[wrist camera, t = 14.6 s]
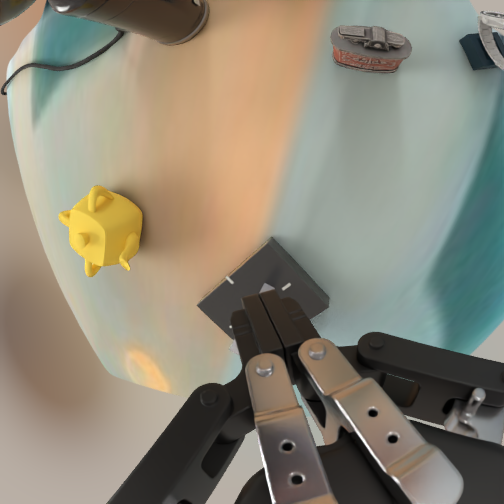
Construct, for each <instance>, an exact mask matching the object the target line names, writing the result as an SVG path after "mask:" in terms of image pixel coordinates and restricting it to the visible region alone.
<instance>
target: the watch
mask: <svg viewBox="0 0 504 504" xmlns="http://www.w3.org/2000/svg"><path fill="white" fill-rule="evenodd" d="M480 14H481V15H480V16H478V30H479V33H477V34H468V35H466V36H465V37H464V38H462V39H461V40H459V41H460V43H461V45H462V47H463V49H464V51H465V53H466V55H467V57H468V60H469V62H470V64H471V66H472V68H473V70H480V69H486V68H494V67H499V68H501V69H502V70H504V45H503V43H502V41H501V39H500V37H499V35H498V33H497V32H493V33H492V28H491V27H495V28H498V29H504V13H502V12H495V11H482V12H480Z"/></svg>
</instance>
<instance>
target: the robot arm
mask: <svg viewBox="0 0 504 504" xmlns="http://www.w3.org/2000/svg"><path fill="white" fill-rule="evenodd" d="M35 1H36V0H0V26H1V25H3V24H5V23H7V22H9V21H11V20H12V19H14V18H16V17H17V16H19V15H20V14H21V13H22V12H24V11H25V10H27V9H28V8H29V6H31V5H32V4H33V3H34V2H35ZM48 1H49V3H50V5H51V7H52V9H53V10H54V11H55V12H57V13H59V14H61V15H66V16H71V17H76V18H80V19H85V20H89V21H93V22H98V23H102V24H105V25H109V26H113V27H115V28H116V30H117V31H118V32H119V33H118V34H117V36H116V37H115V38H114V39H113V40H112V41H111V42H110V43H109V44H107V45H106V46H105V47H103V48H102V49H100V50H99V51H97V52H96V53H94V54H92V55H91V56H89V57H87V58H86V59H84V60H82V61H80V62H78V63H76V64H73V65H69V66H62V67H55V66H50V65H44V64H36V63H31V64H27V65H24V66H22V67H21V68H19V69H18V70H17V71H16V72H15V73H14V74H13V75H12V76H11V77H10V78H9V79H8V80H7V81H6V82H5V84H4V85H3V87H2V89H1V94H2V95H7V92H4V88H5V86H6V85H7V84H8V83H9V82H10V81H11V80H12V78H13V77H14V76H15V75H16V74H17V73H19V72H20V71H21V70H23V69H25V68H28V67H37V68H44V69H49V70H53V71H62V70H69V69H73V68H76V67H79V66H81V65H83V64H85V63H87V62H89V61H90V60H92V59H94V58H96V57H97V56H99V55H100V54H102V53H104V52H105V51H106V50H107V49H109V48H110V47H111V46H112V45H113V44H114V43H116V42H117V41H118V40H119V39H120V38H121V36H122V35H123V33H124V32H133V33H136V34H139V35H142V36H145V37H147V38H150V39H153V40H155V41H157V42H159V43H162V44H165V45H178V44H181V43H184V42H186V41H188V40H190V39H191V38H193V37H194V36H195V35H196V34H197V33H199V31H200V30H201V29H202V28H203V26H204V25H205V23H206V21H207V19H208V15H209V5H208V2H207V1H206V0H48ZM241 300H242V305H243V309H241V310H237V311H233V312H232V315H231V319H230V322H231V326H232V330H233V334H234V338H235V341H236V345H237V349H238V352H239V355H240V359H241V362H242V370H241V372H240V374H239V375H238V376H237V377H236V378H235V379H234V380H232V381H231V382H229V383H227V384H225V385H221V384H217V383H208V384H204V385H202V386H200V387H198V388H197V389H196V390H194V392H193V393H192V394H191V395H190V397H189V398H188V400H187V401H186V402H185V404H184V405H183V406H182V408H181V409H180V410H179V412H178V413H177V415H176V416H175V417H174V418H173V420H172V421H171V422H170V424H169V425H168V426H167V428H166V429H165V430H164V432H163V433H162V434H161V435H160V437H159V438H158V439H157V441H156V442H155V443H154V445H153V446H152V447H151V448H150V450H149V451H148V453H147V454H146V455H145V456H144V457H143V459H142V460H141V461H140V463H139V464H138V465H137V466H136V468H135V469H134V470H133V471H132V473H131V474H130V475H129V476H128V478H127V479H126V480H125V481H124V483H123V484H122V485H121V486H120V488H119V489H118V490H117V491H116V493H115V494H114V495H113V496H112V497H111V499H110V500H109V501H108V502H107V503H106V504H205V503H206V501H207V500H208V498H209V497H210V495H211V494H212V492H213V490H214V489H215V487H216V486H217V484H218V482H219V481H220V479H221V478H222V476H223V474H224V473H225V471H226V469H227V468H228V466H229V464H230V463H231V461H232V459H233V458H234V456H235V454H236V453H237V451H238V449H239V447H240V446H241V444H242V442H243V440H244V438H245V435H246V434H247V433H249V432H251V431H252V430H254V429H256V432H257V436H258V441H259V445H260V450H261V455H262V460H263V464H264V468H262V469H261V470H259V471H258V472H257V473H256V474H254V475H253V476H252V477H251V478H250V479H249V480H248V482H247V483H246V484H245V485H244V487H243V488H242V490H241V492H240V494H239V496H238V498H237V500H236V501H235V503H234V504H504V446H502V445H501V443H502V438H503V433H504V363H501V362H496V361H492V360H487V359H483V358H478V357H474V356H470V355H466V354H462V353H457V352H453V351H449V350H445V349H441V348H437V347H433V346H429V345H425V344H422V343H418V342H414V341H410V340H407V339H403V338H399V337H395V336H392V335H388V334H385V333H381V332H370V333H367V334H365V335H363V336H362V337H361V338H360V339H359V341H358V345H354V346H345V347H338V346H335V344H334V343H333V342H331V341H330V340H327V339H324V338H321V337H320V336H319V334H318V332H317V331H316V329H315V328H314V326H313V325H312V323H311V322H310V320H309V319H308V317H307V316H306V314H305V312H304V311H303V310H302V308H301V306H300V305H299V303H298V302H297V301H295V300H294V299H292V298H290V297H286V298H282V299H280V297H279V295H278V293H277V292H276V290H275V289H272V290H269V291H265V292H261V293H258V294H253V295H249V296H246V297H242V298H241ZM389 374H391V375H389ZM393 375H394V376H393ZM396 376H397V377H396ZM399 377H401V378H399ZM403 378H404V379H403ZM406 379H408V380H406ZM410 380H411V381H410ZM413 381H414V382H413ZM295 384H296V385H297V388H298V390H299V392H300V394H301V399H302V401H303V402H304V404H305V406H306V408H307V409H308V411H309V413H310V414H311V416H312V418H313V419H314V421H315V423H316V425H317V426H318V428H319V430H320V431H321V433H322V436H323V439H324V443H325V445H324V446H316V444H315V441H314V438H313V435H312V433H311V430H310V427H309V425H308V421H307V418H306V415H305V413H304V410H303V408H302V406H300V405H299V403H298V401H297V398H296V395H295V392H294V389H293V386H292V385H295ZM404 415H407V416H410V417H414V418H417V419H420V420H424V421H428V422H431V423H435V424H439V425H443V426H444V427H445V430H443V429H440V428H436V427H432V426H430V425H426V424H423V423H420V422H417V421H413V420H408V419H407V418H406V417H405V416H404Z"/></svg>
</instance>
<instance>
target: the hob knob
mask: <svg viewBox="0 0 504 504" xmlns="http://www.w3.org/2000/svg"><path fill="white" fill-rule="evenodd" d="M272 289H275V288H274V287H272V286H270V285H268V284H266V283H264V285H263V287H262V289H261V290H260V292H259V293H261V292H265V291H269V290H272ZM229 350H230V351H232V352H234V353H236V354H238V355H239V352H238V349H237V345H236V341H235V339H234V341H233V343H232V344H231V346H230V348H229Z"/></svg>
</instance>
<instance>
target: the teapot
mask: <svg viewBox="0 0 504 504" xmlns="http://www.w3.org/2000/svg"><path fill="white" fill-rule="evenodd" d="M142 219H143V217H142V212H141V210H140V209H139V208H138V207H137V206H136V205H135V204H134V203H132V202H131V201H130V200H128V199H127V198H125V197H123V196H121V195H119V194H116V193H113V192H110V191H108V190H107V189H105V188H104V187H102V186H98V185H97V186H94V187H93V188H92V189H91V190H90V193H89V194H88V195H87V196H85V197H84V198H83V199H81V200H80V201H79V202H78V203H77V204H76V205H75V206H74V207H73V209H72V210H67V211H63V212H60V214H59V220H60V221H61V222H62V223H63V224H64V225H66V226H68V227H69V240H70V245H71V246H72V248H73V249H74V250H75V251H76V252H77V253H78V254H79V255H81V256H82V257H83V258H85V272H86V275H87V276H88V277H93V276H94V275H95V274H96V273H97V272H98V271H99V269H100V268H101V266H109V265H115V264H119V263H120V264H121V265H122V266H123V267H124V268H125V269H126V270H130V266H129V264H128V260H129V259H131V258H132V257H133V256H135V255H136V253H137V252H138V249H139V240H140V235H141V229H142ZM92 263H93V265H92Z"/></svg>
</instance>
